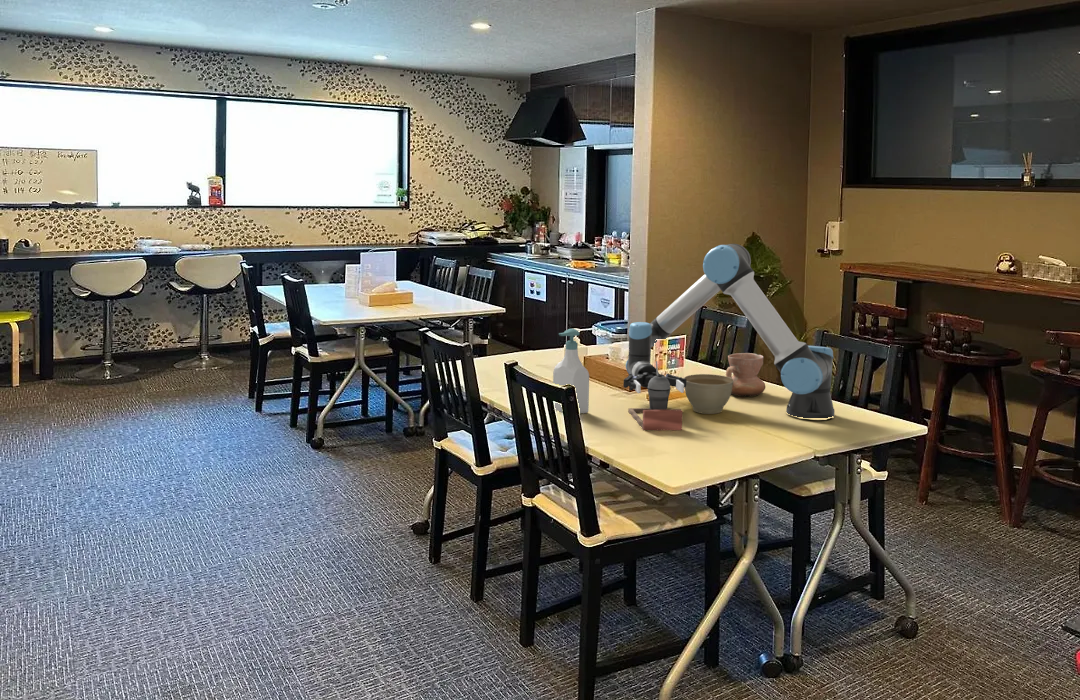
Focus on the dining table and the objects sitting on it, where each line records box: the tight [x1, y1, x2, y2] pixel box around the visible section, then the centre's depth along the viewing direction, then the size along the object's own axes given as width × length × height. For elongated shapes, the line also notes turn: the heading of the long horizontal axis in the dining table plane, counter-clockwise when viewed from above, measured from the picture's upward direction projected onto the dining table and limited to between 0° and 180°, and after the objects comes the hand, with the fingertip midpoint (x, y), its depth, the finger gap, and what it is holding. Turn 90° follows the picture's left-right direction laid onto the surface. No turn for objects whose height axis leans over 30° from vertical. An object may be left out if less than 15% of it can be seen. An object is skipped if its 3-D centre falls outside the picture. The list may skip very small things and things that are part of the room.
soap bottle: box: [552, 328, 590, 414], centre depth 297 cm, size 11×8×27 cm
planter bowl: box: [683, 373, 734, 415], centre depth 302 cm, size 16×16×11 cm
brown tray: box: [627, 407, 684, 431], centre depth 289 cm, size 23×12×6 cm, turn 6°
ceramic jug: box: [725, 352, 767, 397], centre depth 326 cm, size 18×14×14 cm
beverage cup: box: [646, 360, 672, 410], centre depth 283 cm, size 7×7×20 cm
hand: (661, 388), depth 280 cm, fingers open, 13 cm apart
